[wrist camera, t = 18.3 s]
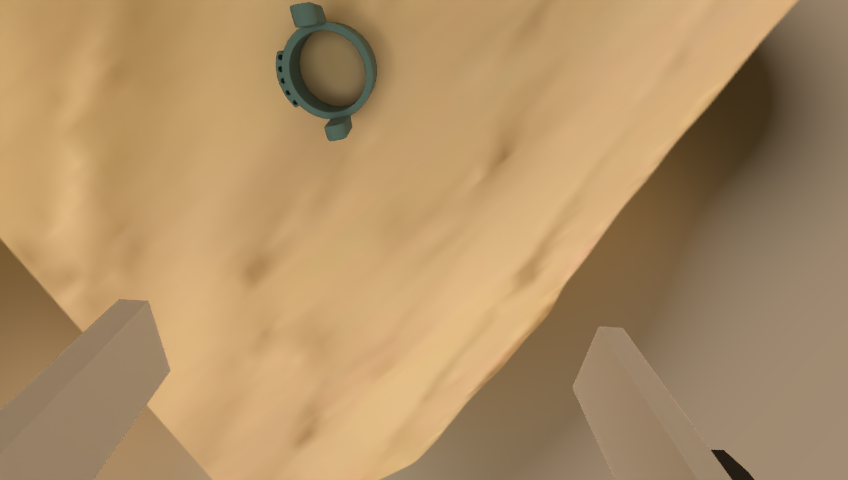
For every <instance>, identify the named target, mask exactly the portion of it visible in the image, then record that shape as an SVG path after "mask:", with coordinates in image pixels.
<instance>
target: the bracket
mask: <svg viewBox="0 0 848 480" xmlns="http://www.w3.org/2000/svg"><path fill="white" fill-rule="evenodd" d="M290 10H291V13H292V17H293V20H294V24H295V27H301V28H300V29H298V30H297V31H296V32H295V33H294V34H293V35H292V36H291V37H290V39H289V40H288V42H287V44H286V46H285V49H284V50H283V51H278V52H277V57H276V71H277V77H278V80H279V84H280V86H281V88H282V90H283V92H284V94H285V96H286V97H287V99H288V100H289V101H290V102H291V103H292V104H293V106H295V107H298V106H299V105H300V106H301V107H302V108H303V109H305V110H306V111H308V112H309V113H311V114H313V115H315V116H317V117H321V118H324V119H331V120H330V121H329V122H328V124H327V125H326V126H325V127H324V128H325V132H326V135H327V138H328V140H329V141H336V140H341V139H344V138H346V137H347V135H348V134H349V132H350V130H351V128H352V123H351V117H350V115H352V114H354V113H355V112H356V111H358V110H359V109H360V108H361V107H362V106H363V104H364V103H365V102H366V100H367V98H368V97H369V95H370V94H371V92H372V90H373V88H374V85H375V82H376V75H377V65H376V60H375V56H374V54H373V51H372V49H371V47H370V45H369V44H368V42H367V41H366V40H365V39H364V37H363V36H362V35H361V34H359V33H358V32H357V31H356V30H354V29H352V28H351V27H349V26H346V25H344V24H339V23H333V22H327V21H326V18H325V15H324V12H323V8H322V6H320V5H317V4H313V3H310V2H308V3H301V4H296V5H292V6H290ZM321 30H329V31H333V32H336V33H339V34H340V35H342V36H344V37H346V38H347V39H348V40H349V41H351V42H352V44H353V45H354V46H355V47H356V48H357V50H358V51H359V53H360V55H361V57H362V59H363V62H364V65H365V70H366V81H365V87H364V90H363V93H362V95H361V96H360V98H359V99H358V100H357V101H356V102H355V103H354V104H353V105H350V106H345V107H337V106H331V105H328V104H326V103H324V102H322V101H320V100H319V99H318V98H316V97H315V96H314V95H313V94H312V93H311V92H310V91H309V89H308V88H307V86H306V85H305V83H304V80H303V78H302V75H301V72H300V54H301V50H302V47H303V45H304V43H305V41H306V40H307V39H308V37H309V36H310V35H311V34H313V33H314V32H316V31H321Z"/></svg>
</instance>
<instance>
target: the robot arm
mask: <svg viewBox="0 0 848 480" xmlns="http://www.w3.org/2000/svg"><path fill="white" fill-rule="evenodd" d="M169 372H170V368H169V365H168V362H167V358H166V355H165V352H164V349H163V346H162V343H161V339H160V336H159V333H158V330H157V327H156V324H155V320H154V317H153V314H152V311H151V308H150V305H149V301H140V300H122V299H119V300H118V301H117V302H116V303H115V304H114V305H113V306H111V307H110V308H109V309H108V310H107V311H106V312H105V313H104V314H103V315H102V316H101V317H100V318H99V319H97V320H96V321H95V322H94V323H93V324H92V325H91V326H90V327H89V328H88V329H87V330H86V331H84V332H83V333H82V334H81V335H80V336H79V337H78V338H77V339H76V340H75V341H74V342H73V343H71V344H70V345H69V346H68V347H67V348H66V349H65V350H64V351H63V352H62V353H61V354H60V355H59V356H57V357H56V358H55V359H54V360H53V361H52V362H51V363H50V364H49V365H48V366H47V367H46V368H45V369H43V370H42V371H41V372H40V373H39V374H38V375H37V376H36V377H35V378H34V379H33V380H32V381H30V382H29V383H28V384H27V385H26V386H25V387H24V388H23V389H22V390H21V391H20V392H19V393H17V394H16V395H15V396H14V397H13V398H12V399H11V400H10V401H9V402H8V403H7V404H6V405H5V406H4V407H2V408H1V409H0V480H93V479H94V478H95V477H96V476H97V474H98V473H99V471H100V470H101V469H102V467H103V466H104V464H105V463H106V461H107V460H108V459H109V457H110V456H111V454H112V453H113V451H114V450H115V449H116V447H117V446H118V444H119V443H120V442H121V440H122V439H123V437H124V436H125V434H126V433H127V431H128V430H129V429H130V427H131V426H132V424H133V423H134V421H135V420H136V419H137V417H138V416H139V414H140V413H141V412H142V410H143V409H144V407H145V406H146V405H147V403H148V402H149V400H150V399H151V397H152V396H153V395H154V393H155V392H156V390H157V389H158V387H159V386H160V385H161V383H162V382H163V380H164V379H165V377H166V376H167V375H168V373H169ZM573 390H574V392H575V394H576V396H577V399H578V401H579V403H580V405H581V407H582V410H583V412H584V414H585V416H586V418H587V420H588V423H589V425H590V427H591V429H592V431H593V433H594V436H595V438H596V440H597V442H598V444H599V447H600V448H601V451H602V453H603V455H604V457H605V460H606V462H607V464H608V466H609V468H610V470H611V473H612V475H613V477H614V479H615V480H754V479H753V478H752V476H751V475H750V474H749V472H747V471H746V470H745V469H744V468H743V467H742V466H741V465H740V464H739V463H737V462H736V461H735V460H734V459H733V458H732V457H731V456H730V455H729V454H727V453H726V452H725V451H724V450H710V448H709V447H708V446H707V444H706V443H705V442H704V440H703V439H702V438H701V436H700V435H699V433H698V432H697V431H696V429H695V428H694V426H693V425H692V424H691V422H690V421H689V419H688V418H687V417H686V415H685V414H684V412H683V411H682V410H681V409H680V407H679V405H678V404H677V403H676V401H675V400H674V399H673V397H672V396H671V394H670V393H669V392H668V390H667V389H666V388H665V386H664V385H663V383H662V382H661V381H660V379H659V378H658V376H657V375H656V374H655V372H654V371H653V369H652V368H651V367H650V365H649V364H648V362H647V361H646V360H645V358H644V357H643V356H642V354H641V353H640V351H639V350H638V349H637V347H636V346H635V344H634V343H633V342H632V340H631V339H630V338H629V336H628V335H627V333H626V332H625V331H624V329H623V328H616V327H599V328H598V330H597V332H596V334H595V337H594V339H593V342H592V344H591V346H590V348H589V351H588V353H587V355H586V358H585V360H584V362H583V364H582V367H581V369H580V372H579V374H578V376H577V378H576V381H575V383H574V385H573Z"/></svg>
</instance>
